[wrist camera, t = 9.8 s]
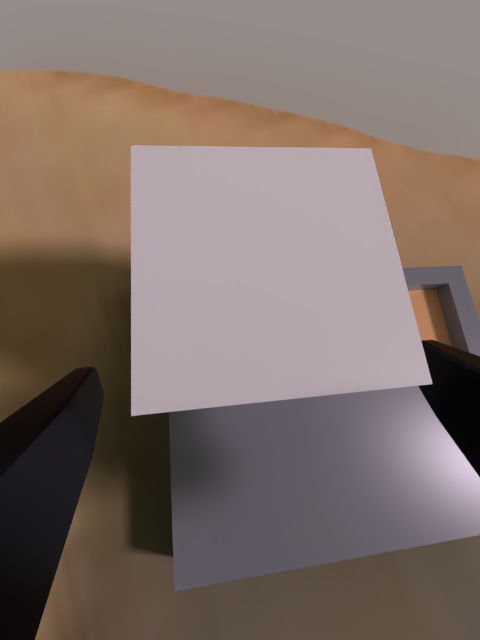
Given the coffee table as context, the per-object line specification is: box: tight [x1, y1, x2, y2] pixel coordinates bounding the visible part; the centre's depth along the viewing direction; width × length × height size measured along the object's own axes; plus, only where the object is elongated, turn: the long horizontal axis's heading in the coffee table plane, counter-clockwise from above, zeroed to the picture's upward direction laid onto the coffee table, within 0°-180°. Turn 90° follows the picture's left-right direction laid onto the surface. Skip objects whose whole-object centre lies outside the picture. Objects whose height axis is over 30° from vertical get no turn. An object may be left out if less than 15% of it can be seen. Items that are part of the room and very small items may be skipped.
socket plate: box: [169, 266, 480, 592], centre depth 16 cm, size 14×18×2 cm
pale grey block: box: [131, 145, 433, 416], centre depth 12 cm, size 6×6×11 cm
